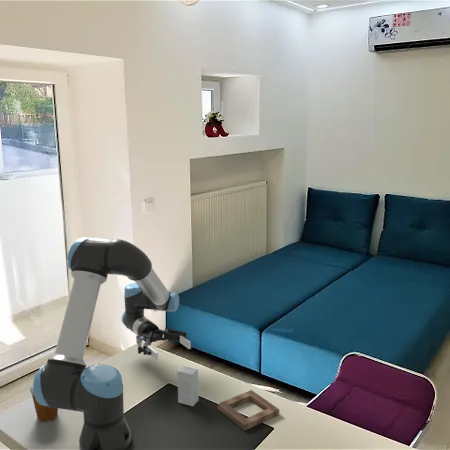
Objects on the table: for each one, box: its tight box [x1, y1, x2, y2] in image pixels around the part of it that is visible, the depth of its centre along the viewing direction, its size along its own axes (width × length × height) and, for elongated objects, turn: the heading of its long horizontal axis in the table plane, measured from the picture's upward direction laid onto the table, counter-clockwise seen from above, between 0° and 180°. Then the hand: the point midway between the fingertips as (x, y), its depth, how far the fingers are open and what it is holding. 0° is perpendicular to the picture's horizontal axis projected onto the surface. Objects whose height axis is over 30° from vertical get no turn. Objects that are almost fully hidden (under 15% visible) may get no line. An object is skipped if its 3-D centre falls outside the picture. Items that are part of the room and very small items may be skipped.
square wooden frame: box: [217, 389, 280, 431], centre depth 165 cm, size 15×15×2 cm
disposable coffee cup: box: [29, 380, 59, 423], centre depth 161 cm, size 10×10×12 cm
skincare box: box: [176, 365, 199, 407], centre depth 169 cm, size 6×4×12 cm
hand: (173, 350), depth 176 cm, fingers open, 13 cm apart
